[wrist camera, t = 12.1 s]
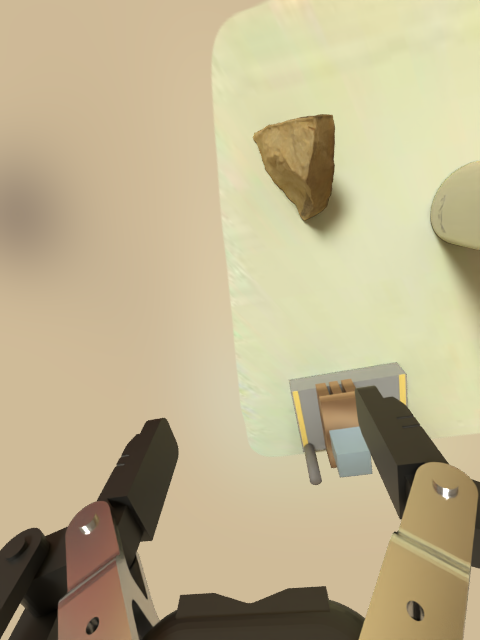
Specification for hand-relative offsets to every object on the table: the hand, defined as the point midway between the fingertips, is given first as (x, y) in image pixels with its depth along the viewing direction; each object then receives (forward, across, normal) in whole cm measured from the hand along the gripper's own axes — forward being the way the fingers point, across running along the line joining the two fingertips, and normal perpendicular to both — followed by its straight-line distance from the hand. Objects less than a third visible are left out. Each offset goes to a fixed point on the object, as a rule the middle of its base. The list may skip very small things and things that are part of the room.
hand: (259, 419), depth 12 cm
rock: (+28, -6, -10) cm, 31 cm away
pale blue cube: (+21, -7, +24) cm, 33 cm away
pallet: (+25, -7, +23) cm, 35 cm away
